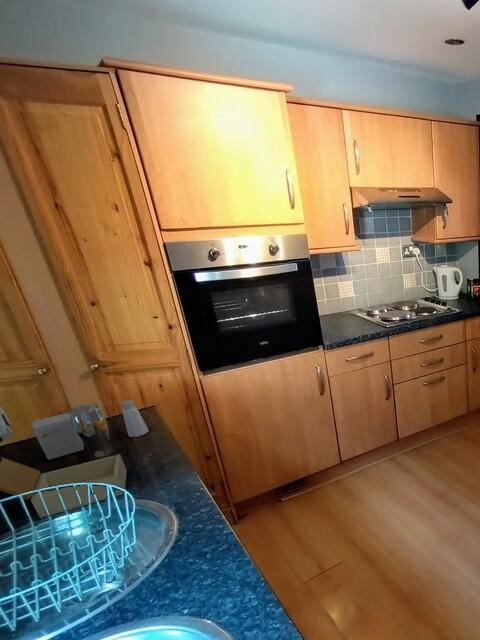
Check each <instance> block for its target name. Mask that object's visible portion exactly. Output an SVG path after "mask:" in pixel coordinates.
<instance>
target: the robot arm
mask: <svg viewBox="0 0 480 640" xmlns="http://www.w3.org/2000/svg"><path fill="white" fill-rule="evenodd" d="M11 427H12V423H11V421H10V419H9V417H8V415H7V414H6V413H5V411H4V409H3V407H1V405H0V444H1V443H2V442H4V441H7V440H10V439H12V438H14V437H15V435H16V432H15V431H14V430H13V429H12V428H11ZM1 461H2V455H1V454H0V462H1Z"/></svg>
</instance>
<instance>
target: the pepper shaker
mask: <svg viewBox="0 0 480 640" xmlns="http://www.w3.org/2000/svg"><path fill="white" fill-rule="evenodd" d="M120 404H121V406H122V410H121V411H122V415H123V419H124V424H125V427H126V432H127V435H128V437H129V438H137V437H141V436H143V435H146V434H147V433H148V432H149V428H148V426H147V424H146V422H145V420H144V418H143V417H142V415H141V413H140V410H139V408H138V407H137V406H135V404H134V400H132V399H128V400H124V401H122V402H120Z"/></svg>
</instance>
